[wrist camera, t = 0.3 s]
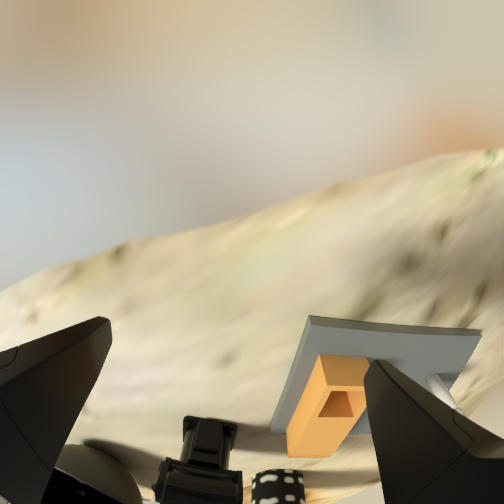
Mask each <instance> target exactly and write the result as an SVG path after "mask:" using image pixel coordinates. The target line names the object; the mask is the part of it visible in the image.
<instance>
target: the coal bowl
mask: <svg viewBox="0 0 504 504" xmlns="http://www.w3.org/2000/svg"><path fill="white" fill-rule="evenodd" d="M51 473H52V474H51V476H50V479H49V481H48V484H47V486H46V489H45V491H44V494H43V496H42V499H41V501H40V504H143V502H142V497H141V493H140V491H139V488H138V486H137V484H136V482H135V481H134V479H133V478H132V476H131V475H130V474H129V472H128V471H127V470H126V469H125V468H124V467H123V466H122V465H121V464H120V463H119V462H117V461H116V460H115V459H113V458H112V457H111V456H109V455H107V454H105V453H104V452H102V451H99V450H97V449H94V448H91V447H88V446H84V445H77V444H67V445H64V446H63V449H62V451H61V453H60V455H59V457H58V460H57V462H56V464H55V467H54V469H53V471H52V472H51Z"/></svg>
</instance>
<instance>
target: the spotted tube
mask: <svg viewBox="0 0 504 504" xmlns="http://www.w3.org/2000/svg"><path fill="white" fill-rule="evenodd" d="M251 504H305V493H304V482H303V475H302V474H301V473H300V472H298V471H295V470H289V469H275V470H267V471H263V472H260V473H258V474H256V475H254V476H253V478H252V500H251Z"/></svg>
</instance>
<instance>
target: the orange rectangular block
mask: <svg viewBox="0 0 504 504" xmlns="http://www.w3.org/2000/svg"><path fill="white" fill-rule="evenodd" d="M369 366H370V365H369V363H368V360H367V358H366V357H348V356H334V355H322V354H319V356H318V358H317V361H316V363H315V366H314V368H313V371H312V373H311V375H310V378H309V380H308V383H307V385H306V387H305V390H304V392H303V394H302V396H301V399H300V401H299V403H298V405H297V408H296V410H295V412H294V414H293V416H292V418H291V421H290V423H289V425H288V427H287V429H286V436H287V450H288V457H289V458H324V457H331V456H332V454H333V453H334V452H335V450H336V449H337V448H338V447H339V445H340V444H341V443H342V441H343V440H344V439H345V437H346V436H347V434H348V433H349V432H350V430H351V429H352V427H353V426H354V425H355V423H356V422H357V420H358V419H359V417H360V416H361V414H362V413H363V411H364V410H365V408H366V407H367V406H366V398H365V391H364V383H363V380H364V376H365V374H366V372H367V370H368V368H369Z"/></svg>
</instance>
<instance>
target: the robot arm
mask: <svg viewBox="0 0 504 504" xmlns="http://www.w3.org/2000/svg"><path fill="white" fill-rule="evenodd" d="M111 345H112V331H111V323H110V320H109V319H108V318H104V317H101V316H98V317H95V318H92V319H89V320H87V321H84V322H81V323H79V324H76V325H73V326H71V327H68V328H65V329H63V330H60V331H57V332H54V333H52V334H49V335H46V336H44V337H41V338H38V339H35V340H33V341H30V342H27V343H25V344H22V345H19V347H18V346H16V347H14V348H11V349H8V350H5V351H2V352H0V504H8V503H10V504H40V501H41V499H42V496H43V494H44V491H45V489H46V486H47V484H48V481H49V479H50V476H51V474H52V473H51V472H52V471H53V469H54V467H55V464H56V462H57V460H58V457H59V455H60V453H61V451H62V449H63V446H64V444H65V442H66V440H67V438H68V436H69V434H70V432H71V430H72V427H73V425H74V423H75V421H76V419H77V417H78V415H79V413H80V411H81V409H82V407H83V406H84V404H85V402H86V400H87V398H88V396H89V394H90V392H91V390H92V388H93V387H94V385H95V383H96V381H97V379H98V376H99V374H100V372H101V369H102V367H103V364H104V362H105V359H106V357H107V354H108V352H109V350H110V347H111ZM363 383H364V391H365V398H366V406H367V414H368V420H369V424H370V429H371V433H372V438H373V442H374V447H375V452H376V457H377V462H378V467H379V472H380V477H381V483H382V489H383V494H384V501H385V504H504V439H502V438H500V437H498V436H497V435H495V434H493V433H491V432H490V431H488V430H486V429H484V428H483V427H481V426H479V425H478V424H476V423H474V422H473V421H471V420H469V419H468V418H466V417H465V416H463V415H462V414H460V413H459V412H458V411H456V410H455V409H453V408H451V407H450V406H449V405H448V404H446V403H445V402H443V401H442V400H440V399H439V398H438V397H436V396H435V395H433V394H432V393H431V392H429V391H428V390H426V389H425V388H424V387H422V386H421V385H419V384H418V383H416V382H415V381H414V380H412V379H411V378H409V377H408V376H407V375H405V374H404V373H403V372H401V371H400V370H398V369H397V368H396V367H394V366H393V365H391V364H390V363H389V362H387V361H386V360H384V359H374V360H373V361H372V362H371V364H370V366H369V368H368V370H367V372H366V374H365V376H364V380H363ZM236 432H237V426H236V425H234V424H227V423H220V422H214V421H209V420H203V419H198V418H193V417H188V416H185V417H184V419H183V442H184V444H183V448H182V452H181V456H180V461H178V460H174V459H171V458H169V457H166V460H165V461H163V462H161V464H160V468H159V471H158V474H157V476H156V478H155V480H154V482H153V484H152V490H153V491H154V493H155V496H156V497H155V501H156V502H158V503H160V504H242V503H243V481H242V471H232V470H228V466H229V456H230V451H231V450H232V447H233V443H234V439H235V436H236Z"/></svg>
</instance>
